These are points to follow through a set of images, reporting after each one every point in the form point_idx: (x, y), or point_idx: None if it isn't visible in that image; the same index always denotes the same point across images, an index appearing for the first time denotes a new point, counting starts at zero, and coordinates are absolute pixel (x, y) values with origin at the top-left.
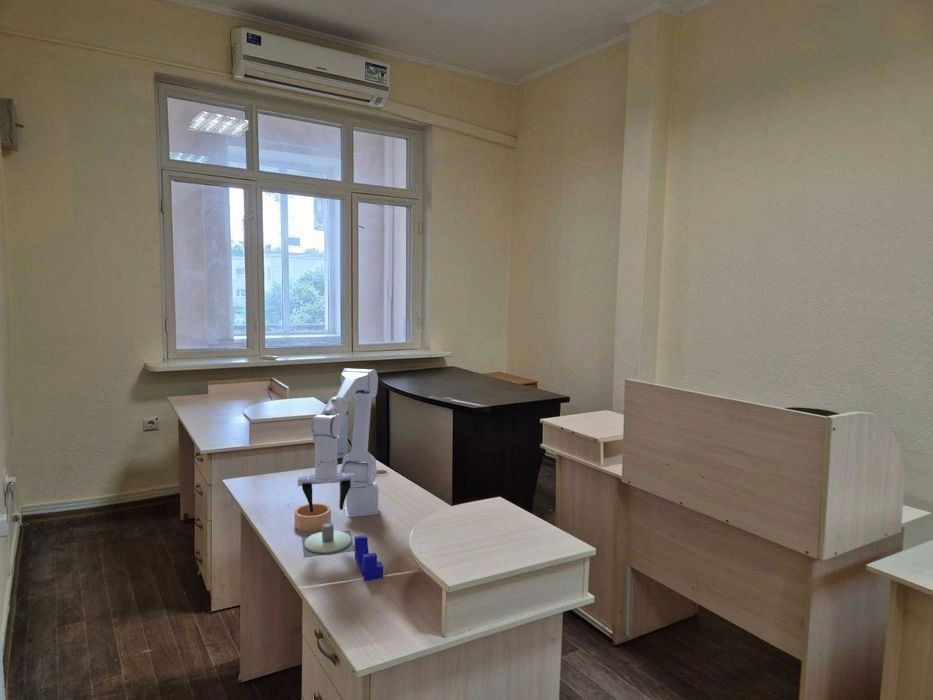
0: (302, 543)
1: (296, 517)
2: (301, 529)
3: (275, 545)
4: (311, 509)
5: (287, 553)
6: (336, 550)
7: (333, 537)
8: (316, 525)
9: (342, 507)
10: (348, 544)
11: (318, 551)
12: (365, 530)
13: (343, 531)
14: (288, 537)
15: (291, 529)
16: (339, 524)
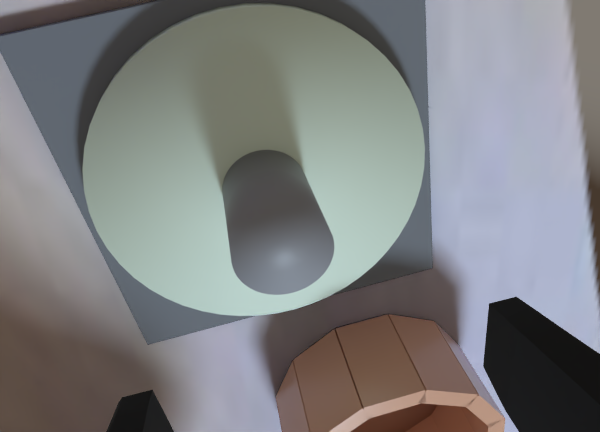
0: (429, 174)
1: (487, 395)
2: (433, 330)
3: (575, 168)
4: (534, 320)
5: (523, 51)
6: (168, 29)
7: (223, 198)
8: (359, 353)
9: (115, 420)
10: (88, 133)
11: (317, 13)
12: (43, 357)
13: (184, 328)
14: (497, 260)
15: (475, 340)
16: (229, 404)
